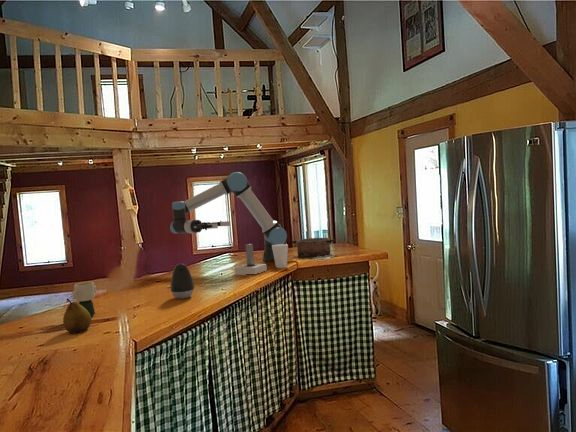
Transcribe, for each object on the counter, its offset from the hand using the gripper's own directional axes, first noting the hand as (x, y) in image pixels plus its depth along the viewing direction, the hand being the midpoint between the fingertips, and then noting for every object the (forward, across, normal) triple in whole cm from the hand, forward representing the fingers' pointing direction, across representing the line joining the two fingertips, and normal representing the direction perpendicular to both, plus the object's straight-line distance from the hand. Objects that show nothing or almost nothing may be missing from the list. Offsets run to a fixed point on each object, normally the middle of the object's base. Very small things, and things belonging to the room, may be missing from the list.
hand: (223, 224), depth 280 cm
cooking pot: (+28, -64, -29) cm, 76 cm away
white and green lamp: (-1, +102, -26) cm, 106 cm away
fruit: (+14, +120, -26) cm, 123 cm away
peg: (+18, +5, -28) cm, 33 cm away
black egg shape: (+18, +67, -27) cm, 74 cm away
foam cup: (+27, -15, -28) cm, 42 cm away
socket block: (+18, +5, -28) cm, 33 cm away
